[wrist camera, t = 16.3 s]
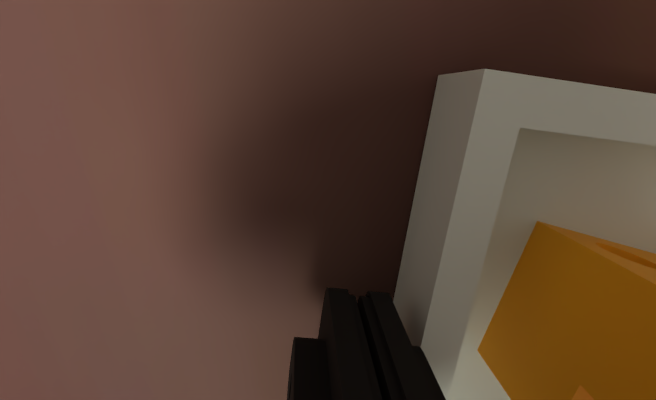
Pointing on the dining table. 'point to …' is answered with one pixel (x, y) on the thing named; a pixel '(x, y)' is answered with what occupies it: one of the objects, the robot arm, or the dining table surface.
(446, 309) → the tray
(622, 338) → the pipe clamp
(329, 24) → the dining table surface
